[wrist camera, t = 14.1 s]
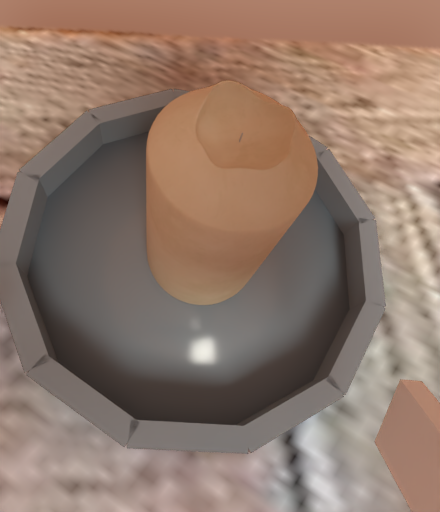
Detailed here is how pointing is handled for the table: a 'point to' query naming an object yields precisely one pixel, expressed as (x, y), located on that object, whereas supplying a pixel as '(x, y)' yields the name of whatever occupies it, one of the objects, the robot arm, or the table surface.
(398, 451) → the robot arm
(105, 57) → the table surface
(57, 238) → the bowl
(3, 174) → the table surface
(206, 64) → the table surface
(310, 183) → the candle
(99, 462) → the table surface
